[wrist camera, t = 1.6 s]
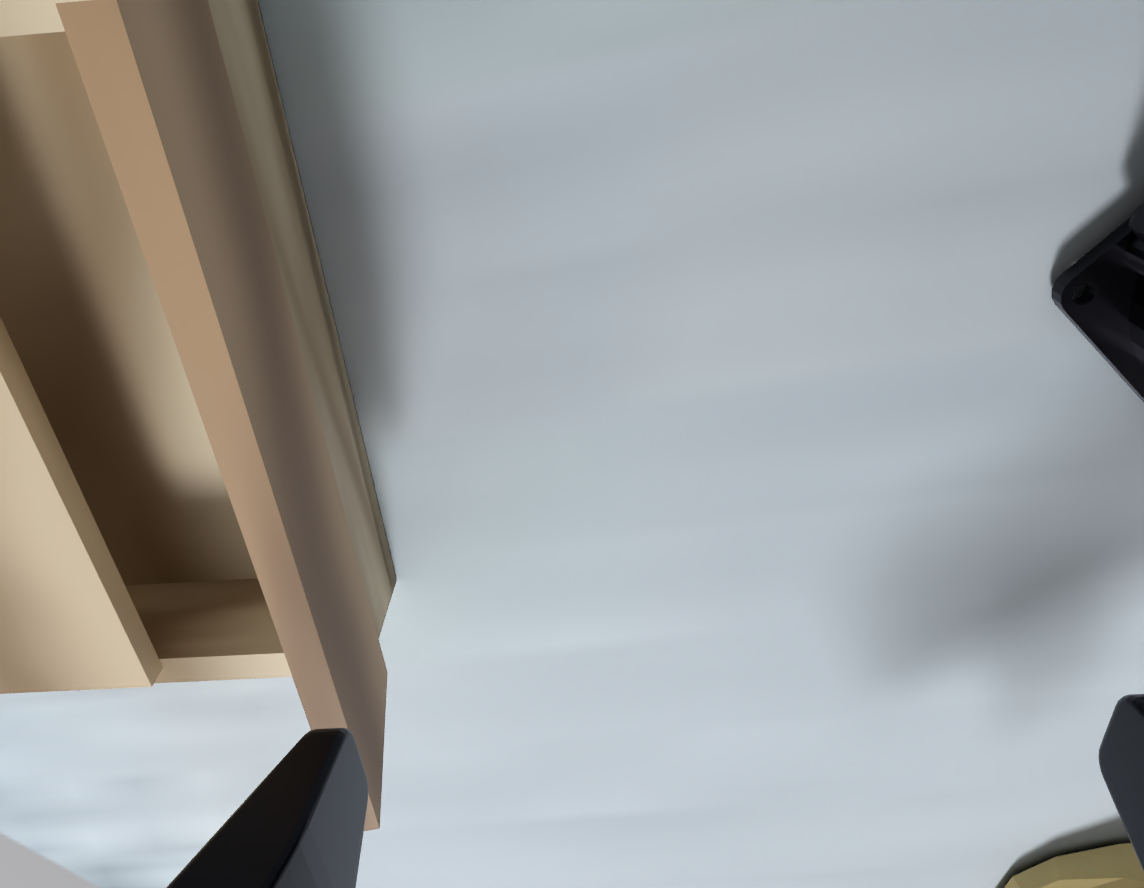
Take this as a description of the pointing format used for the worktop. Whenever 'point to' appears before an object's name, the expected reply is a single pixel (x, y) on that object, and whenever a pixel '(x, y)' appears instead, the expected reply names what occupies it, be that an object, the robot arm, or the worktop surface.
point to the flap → (236, 341)
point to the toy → (1085, 870)
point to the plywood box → (135, 397)
